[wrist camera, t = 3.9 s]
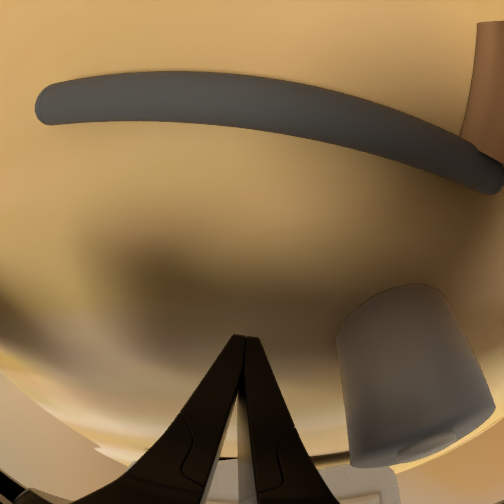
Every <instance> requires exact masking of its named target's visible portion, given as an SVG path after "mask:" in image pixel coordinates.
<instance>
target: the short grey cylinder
mask: <svg viewBox="0 0 504 504" xmlns="http://www.w3.org/2000/svg"><path fill="white" fill-rule="evenodd" d="M336 349H337V355H338V362H339V368H340V375H341V382H342V389H343V397H344V405H345V413H346V422H347V431H348V441H349V452H350V464H351V466H352V467H355V468H379V467H385V466H391V465H395V464H400V463H406V462H411V461H415V460H418V459H421V458H424V457H427V456H430V455H432V454H434V453H437V452H439V451H441V450H443V449H445V448H446V447H448V446H450V445H451V444H453V443H454V442H456V441H458V440H459V439H461V438H463V437H464V436H466V435H468V434H469V433H471V432H472V431H473V430H475V429H476V428H478V427H479V426H480V425H481V424H483V423H484V422H485V421H486V420H487V419H488V418H489V417H490V416H491V415H492V414H493V412H494V410H495V408H496V406H495V404H494V401H493V398H492V395H491V393H490V390H489V387H488V385H487V382H486V380H485V377H484V375H483V372H482V370H481V368H480V365H479V363H478V361H477V358H476V356H475V354H474V352H473V350H472V348H471V345H470V343H469V341H468V339H467V337H466V335H465V333H464V331H463V329H462V327H461V325H460V323H459V321H458V320H457V318H456V316H455V314H454V312H453V310H452V308H451V307H450V305H449V303H448V301H447V299H446V298H445V296H444V295H443V294H442V292H441V291H439V290H438V289H436V288H434V287H432V286H428V285H421V284H412V285H405V286H400V287H396V288H392V289H390V290H387V291H384V292H382V293H380V294H378V295H376V296H374V297H372V298H371V299H369V300H367V301H366V302H364V303H363V304H361V305H360V306H359V307H358V308H356V309H355V310H354V311H353V312H352V313H351V314H350V315H349V316H348V317H347V318H346V320H345V321H344V322H343V324H342V325H341V327H340V329H339V331H338V333H337V337H336Z"/></svg>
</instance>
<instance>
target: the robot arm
mask: <svg viewBox="0 0 504 504" xmlns="http://www.w3.org/2000/svg"><path fill="white" fill-rule="evenodd" d="M237 393H238V395H237ZM236 397H237V437H238V496H239V504H340V503H339V501H338V500H337V499H336V498H335V497H334V495H333V494H332V492H331V491H330V489H329V488H328V486H327V485H326V483H325V481H324V480H323V478H322V477H321V475H320V474H319V472H318V470H317V469H316V467H315V466H314V464H313V462H312V460H311V459H310V457H309V455H308V453H307V451H306V449H305V447H304V445H303V443H302V441H301V439H300V437H299V434H298V432H297V429H296V428H294V427H295V425H294V423H293V420H292V418H291V415H290V413H289V411H288V408H287V406H286V403H285V401H284V398H283V396H282V394H281V391H280V389H279V386H278V384H277V381H276V379H275V376H274V374H273V371H272V369H271V366H270V364H269V361H268V359H267V356H266V354H265V351H264V349H263V346H262V344H261V341H260V339H259V338H258V337H253V336H247V337H245V336H244V335H239V334H233V335H232V336H231V338H230V339H229V341H228V342H227V344H226V345H225V347H224V348H223V350H222V351H221V353H220V354H219V356H218V357H217V359H216V360H215V362H214V363H213V365H212V366H211V368H210V369H209V371H208V372H207V374H206V375H205V377H204V378H203V379H202V381H201V382H200V384H199V385H198V387H197V388H196V390H195V391H194V393H193V394H192V395H191V397H190V398H189V400H188V401H187V403H186V404H185V405H184V407H183V408H182V410H181V411H180V413H179V414H178V415H177V417H176V418H175V419H174V421H173V422H172V423H171V425H170V426H169V427H168V429H167V430H166V431H165V433H164V434H163V435H162V436H161V437H160V438H159V439H158V440H157V442H156V443H155V444H154V445H153V446H152V447H151V448H150V449H149V450H148V451H147V452H146V453H145V454H144V455H143V456H142V457H141V458H140V459H139V460H138V461H137V462H136V463H135V464H134V465H133V466H132V467H131V468H130V469H128V470H127V471H126V472H125V473H124V474H123V475H122V476H120V477H119V478H118V479H116V480H115V481H113V482H111V483H109V484H108V485H106V486H104V487H102V488H100V489H98V490H96V491H94V492H92V493H91V494H88V495H86V496H84V497H82V498H80V499H78V500H76V501H70V500H67V499H63V498H60V497H57V496H54V495H51V494H48V493H45V492H42V491H39V490H37V489H34V488H26V487H25V486H23V485H22V484H20V483H19V482H18V481H16V480H15V479H13V478H12V477H11V476H9V475H8V474H7V473H5V472H4V471H2V470H1V469H0V504H205V503H206V500H207V497H208V494H209V490H210V487H211V484H212V481H213V477H214V474H215V471H216V467H217V464H218V461H219V457H220V454H221V450H222V447H223V444H224V440H225V437H226V433H227V430H228V426H229V423H230V419H231V416H232V412H233V409H234V405H235V401H236ZM495 504H504V500H502V501H500V502H498V503H495Z"/></svg>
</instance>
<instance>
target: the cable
mask: <svg viewBox="0 0 504 504" xmlns="http://www.w3.org/2000/svg"><path fill="white" fill-rule="evenodd" d="M35 113H36V116H37V118H38V119H39V120H40V121H41V122H42V123H44V124H46V125H60V124H71V123H85V122H107V121H159V122H182V123H197V124H209V125H220V126H229V127H238V128H246V129H253V130H260V131H267V132H273V133H279V134H285V135H291V136H296V137H302V138H307V139H312V140H317V141H321V142H326V143H330V144H335V145H339V146H343V147H347V148H351V149H355V150H359V151H363V152H367V153H370V154H374V155H377V156H381V157H384V158H388V159H391V160H394V161H397V162H401V163H404V164H407V165H410V166H413V167H416V168H419V169H422V170H425V171H428V172H430V173H433V174H436V175H439V176H441V177H444V178H446V179H449V180H452V181H454V182H457V183H459V184H462V185H464V186H466V187H469V188H471V189H473V190H476V191H478V192H480V193H482V194H485V195H494V194H496V193H498V192H499V191H500V190H501V189H502V187H503V185H504V168H503V165H502V164H501V163H500V162H498V161H496V160H495V159H493V158H491V157H489V156H488V155H486V154H484V153H482V152H480V151H479V150H477V148H476V146H475V145H474V144H472V143H470V142H468V141H466V140H465V139H463V138H461V137H459V136H457V135H455V134H452V133H450V132H448V131H446V130H444V129H442V128H440V127H437V126H435V125H433V124H430V123H428V122H426V121H423V120H421V119H419V118H416V117H414V116H411V115H408V114H406V113H403V112H400V111H398V110H395V109H392V108H389V107H386V106H383V105H380V104H377V103H374V102H371V101H368V100H365V99H361V98H358V97H354V96H351V95H347V94H344V93H340V92H336V91H332V90H328V89H323V88H319V87H315V86H310V85H305V84H300V83H295V82H289V81H284V80H277V79H271V78H264V77H256V76H248V75H239V74H227V73H213V72H189V71H161V72H137V73H123V74H113V75H104V76H96V77H89V78H82V79H76V80H70V81H65V82H60V83H55V84H52V85H49V86H48V87H46V88H45V89H44V90H43V91H42V92H41V93H40V94H39V96H38V98H37V100H36V103H35Z"/></svg>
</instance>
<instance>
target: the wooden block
mask: <svg viewBox="0 0 504 504" xmlns="http://www.w3.org/2000/svg"><path fill="white" fill-rule="evenodd" d="M460 137H461V138H463V139H465V140H466V141H468V142H470V143H472V144H474V145H475V146H476V148H477V150H479V151H480V152H482V153H484V154H486V155H488V156H489V157H491V158H493V159H495V160H496V161H498V162H500V163H501V164H502V165H504V21H493V22H481V23H478V24H477V42H476V53H475V62H474V70H473V77H472V83H471V89H470V95H469V100H468V105H467V110H466V114H465V119H464V123H463V127H462V131H461V135H460Z"/></svg>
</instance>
